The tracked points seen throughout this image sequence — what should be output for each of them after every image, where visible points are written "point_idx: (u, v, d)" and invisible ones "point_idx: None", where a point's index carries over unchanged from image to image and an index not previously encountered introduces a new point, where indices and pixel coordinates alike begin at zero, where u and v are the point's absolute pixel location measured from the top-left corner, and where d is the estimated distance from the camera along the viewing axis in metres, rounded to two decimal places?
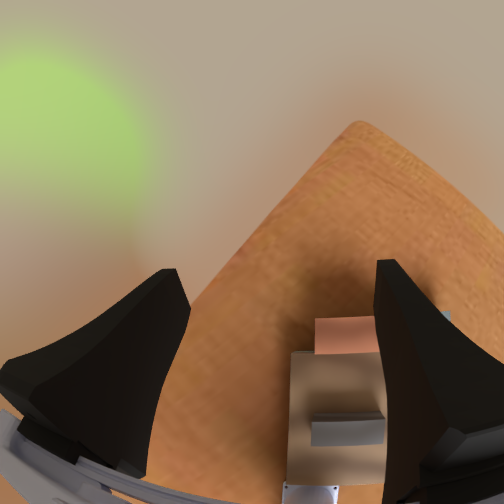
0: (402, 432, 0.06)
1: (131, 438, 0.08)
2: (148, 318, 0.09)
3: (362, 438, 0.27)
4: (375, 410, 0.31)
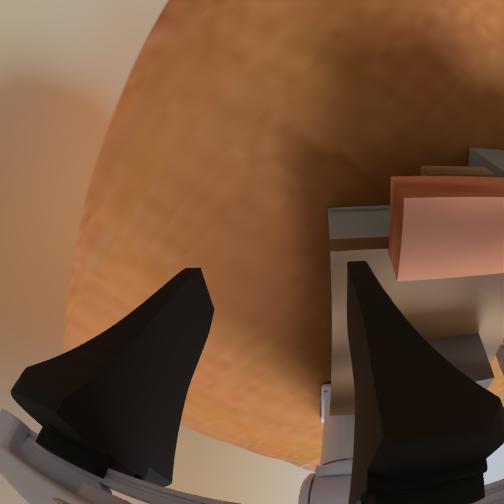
0: (360, 436, 0.06)
1: (159, 446, 0.07)
2: (175, 320, 0.09)
3: None
4: (472, 333, 0.17)
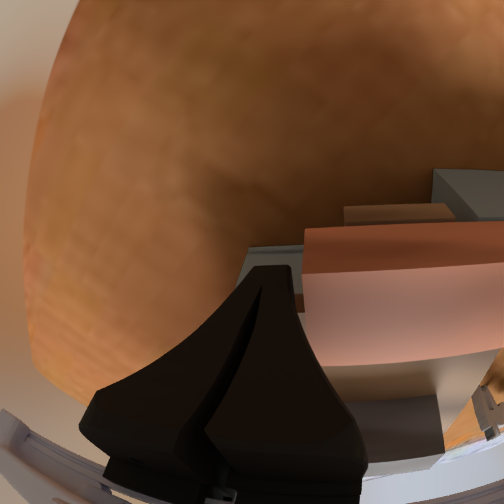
0: None
1: None
2: None
3: (395, 470, 0.13)
4: (427, 395, 0.14)
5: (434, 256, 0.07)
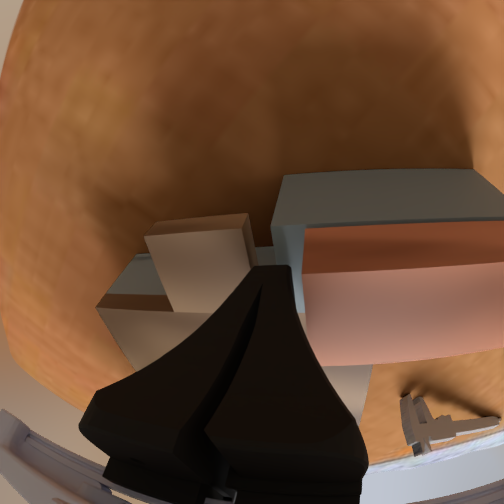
0: None
1: None
2: None
3: None
4: None
5: (434, 256, 0.07)
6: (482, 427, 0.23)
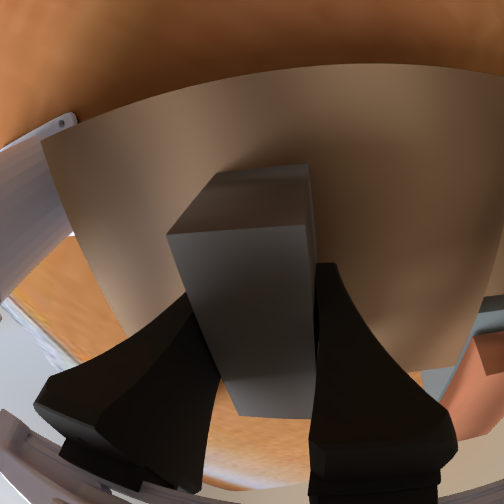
0: None
1: (191, 453, 0.07)
2: None
3: (249, 385, 0.09)
4: None
5: None
6: None
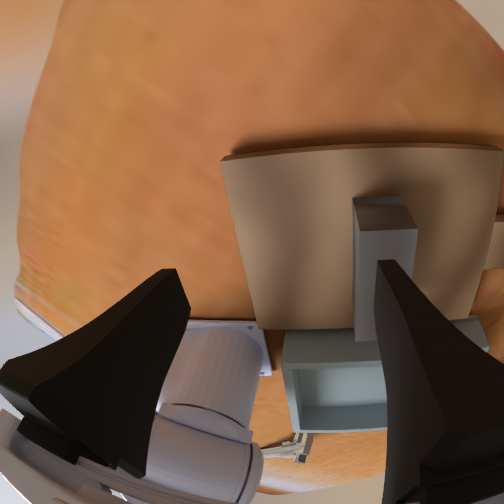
0: (402, 432, 0.06)
1: (131, 438, 0.08)
2: (148, 318, 0.09)
3: (371, 314, 0.17)
4: None
5: None
6: (265, 457, 0.42)
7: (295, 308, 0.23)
